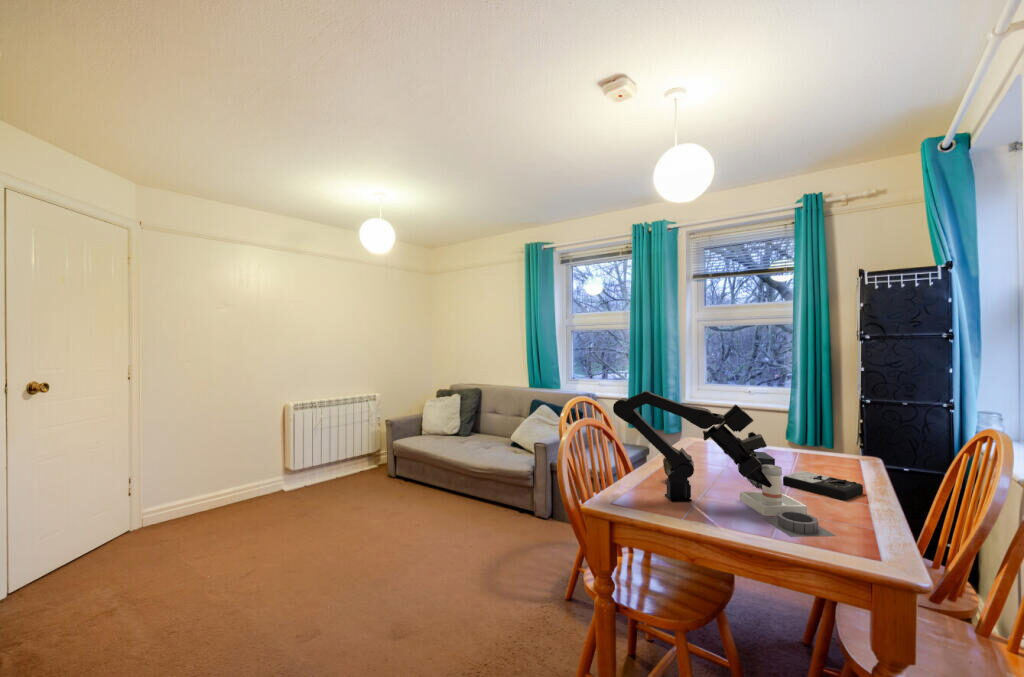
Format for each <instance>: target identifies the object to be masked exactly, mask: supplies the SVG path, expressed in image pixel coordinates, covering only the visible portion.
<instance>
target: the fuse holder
mask: <svg viewBox="0 0 1024 677" xmlns="http://www.w3.org/2000/svg"><path fill="white" fill-rule="evenodd" d="M777 515H778V516H777V517H762V518H761V519H762V520H764V521H765V522H767V523H769V524H771V525H772V526H773V527H775V528H776V529H778V530H780V531H781V532H782V533H784V534H786V535H787V536H788V537H790V538H797V537H799V538H801V537H803V538H807V537H837V535H836V534H834V533H832V532H830V531H829V530H827V529H825V528H823V527H822V526H820V525H819V520H818V518H816V517H815V516H813V515H811V514H808V513H807V514H805V513H802V512H801V513H800V512H796V511H780V512H778V513H777Z"/></svg>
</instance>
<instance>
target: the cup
mask: <svg viewBox="0 0 1024 677" xmlns="http://www.w3.org/2000/svg"><path fill="white" fill-rule="evenodd" d="M662 464H663V470H664V473H665V475H666V476H667V477H668V472H669V469H670V468H671V466H670V464H669V462H668V461H667V459H666V458H665V457H663V459H662Z"/></svg>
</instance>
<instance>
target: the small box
mask: <svg viewBox="0 0 1024 677" xmlns="http://www.w3.org/2000/svg"><path fill="white" fill-rule="evenodd" d="M754 452H755V453H756V458H757V459H758V460H759V461H760V462H761V464H762V465H776V458H775V457H773V456H771V454H768V453H767V452H765V451H755V450H754ZM752 454H753V452H752ZM761 468H762V466H761ZM746 479H747V480H748V482H750V483H751V484H752V485H753V486H754V487H755V488H762V484H760V483H758V482H756V481H753V480H751V479H749V478H746Z"/></svg>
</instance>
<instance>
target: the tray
mask: <svg viewBox="0 0 1024 677" xmlns="http://www.w3.org/2000/svg"><path fill="white" fill-rule="evenodd" d="M739 501H740V502H741V503H743V504H745V505H747V506H748V507H750V508H751V509H753V510H754V511H756V512H757V513H759V514H760V515H762V516H764V517H767V516H768V517H769V516H772V517H773V516H775V517H778V515H777V513H778V512H780V511H796V512H800V513H801V512H802V513H805V514H808V506H807V505H805V504H804V503H802V502H801V501H799V500H797V499H795V498H792V497H791V496H788V495H786V494H784V493H783V492H782V505H779V506H765V505H763V504H762V491H739Z"/></svg>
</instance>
